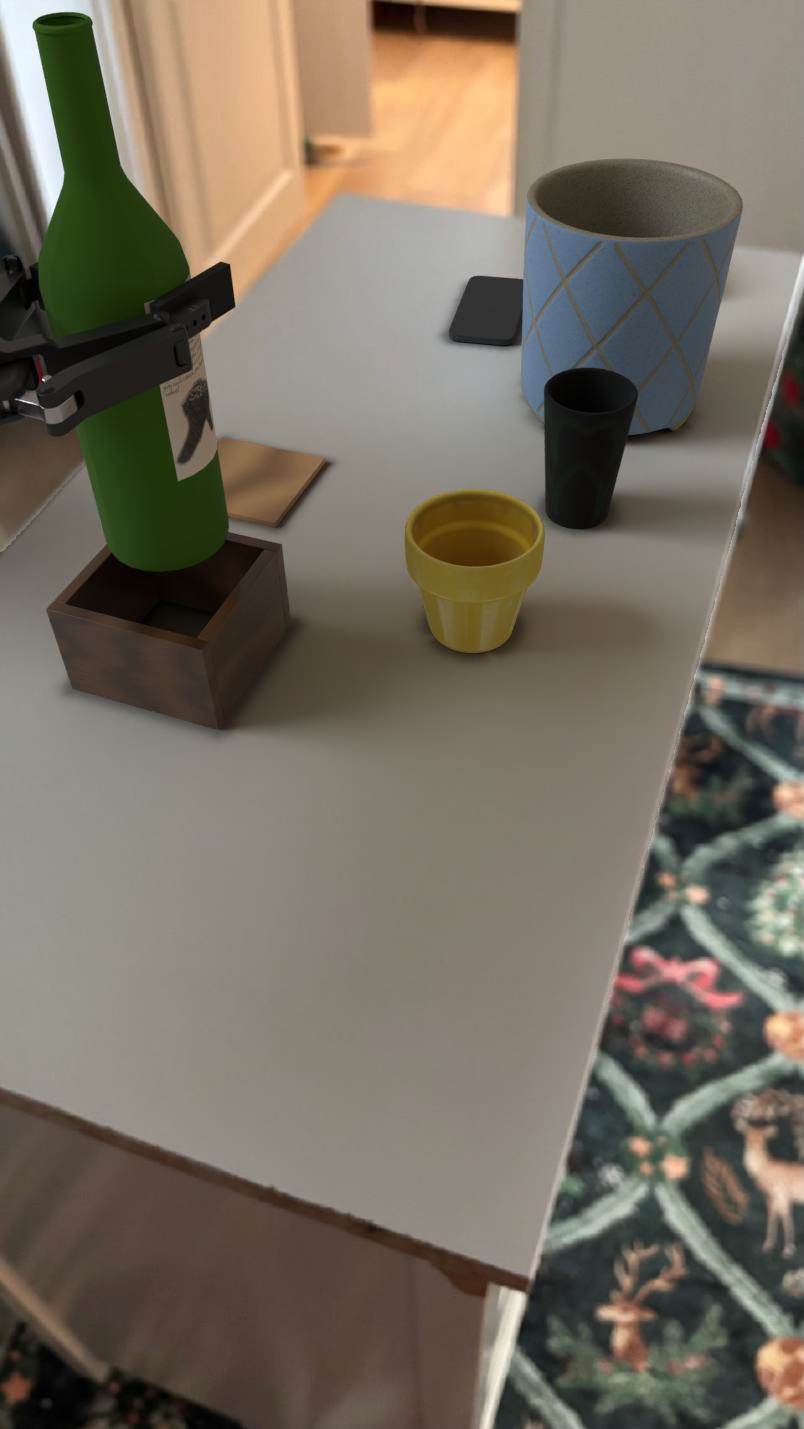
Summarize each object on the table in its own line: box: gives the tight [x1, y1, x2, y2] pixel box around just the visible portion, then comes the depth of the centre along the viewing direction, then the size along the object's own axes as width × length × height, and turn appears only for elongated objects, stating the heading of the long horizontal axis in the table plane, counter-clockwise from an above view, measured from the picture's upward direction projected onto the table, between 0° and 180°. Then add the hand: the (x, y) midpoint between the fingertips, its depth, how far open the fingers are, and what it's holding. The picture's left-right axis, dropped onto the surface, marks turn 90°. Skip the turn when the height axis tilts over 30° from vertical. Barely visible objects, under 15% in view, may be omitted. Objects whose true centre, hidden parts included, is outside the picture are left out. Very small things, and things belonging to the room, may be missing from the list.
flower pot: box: [404, 488, 546, 654], centre depth 83 cm, size 10×10×10 cm
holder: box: [45, 531, 292, 731], centre depth 82 cm, size 13×13×8 cm
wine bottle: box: [31, 11, 230, 572], centre depth 67 cm, size 9×9×32 cm
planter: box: [520, 158, 744, 436], centre depth 103 cm, size 19×19×20 cm
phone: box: [448, 275, 523, 346], centre depth 124 cm, size 7×1×15 cm
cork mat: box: [217, 437, 326, 528], centre depth 101 cm, size 11×11×1 cm
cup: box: [543, 368, 638, 530], centre depth 93 cm, size 8×8×12 cm
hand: (168, 267), depth 68 cm, fingers closed on wine bottle, 9 cm apart
